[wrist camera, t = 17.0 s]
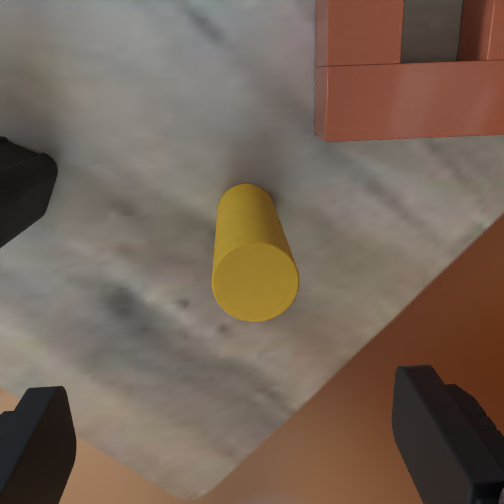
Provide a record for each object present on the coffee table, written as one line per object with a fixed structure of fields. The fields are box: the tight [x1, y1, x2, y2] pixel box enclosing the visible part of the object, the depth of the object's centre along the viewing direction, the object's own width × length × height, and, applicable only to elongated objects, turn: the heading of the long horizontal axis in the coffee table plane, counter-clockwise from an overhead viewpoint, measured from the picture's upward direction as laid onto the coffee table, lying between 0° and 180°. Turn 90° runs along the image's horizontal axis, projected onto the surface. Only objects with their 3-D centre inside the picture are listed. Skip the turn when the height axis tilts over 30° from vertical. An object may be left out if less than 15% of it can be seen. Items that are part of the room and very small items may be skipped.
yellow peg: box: [212, 184, 299, 322], centre depth 29 cm, size 4×4×13 cm
